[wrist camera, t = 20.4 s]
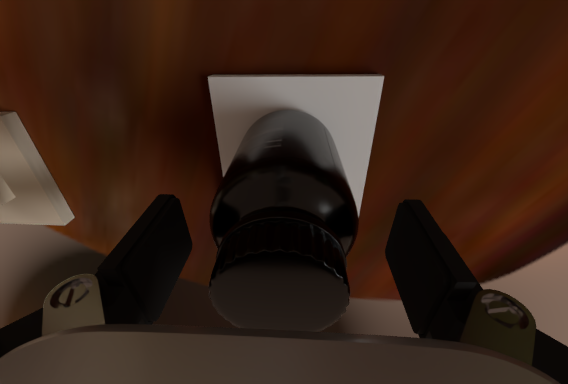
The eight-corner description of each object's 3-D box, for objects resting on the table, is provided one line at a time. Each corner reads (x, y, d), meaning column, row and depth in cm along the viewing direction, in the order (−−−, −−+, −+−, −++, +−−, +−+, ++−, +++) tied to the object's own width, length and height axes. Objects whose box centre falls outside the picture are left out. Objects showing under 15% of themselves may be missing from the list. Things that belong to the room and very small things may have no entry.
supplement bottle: (243, 190, 20) (185, 344, 10) (241, 102, 17) (151, 207, 7) (328, 197, 20) (355, 361, 10) (345, 111, 17) (414, 231, 7)
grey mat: (212, 74, 17) (207, 76, 16) (379, 74, 16) (384, 76, 15) (231, 208, 23) (229, 215, 22) (356, 212, 22) (358, 218, 21)
